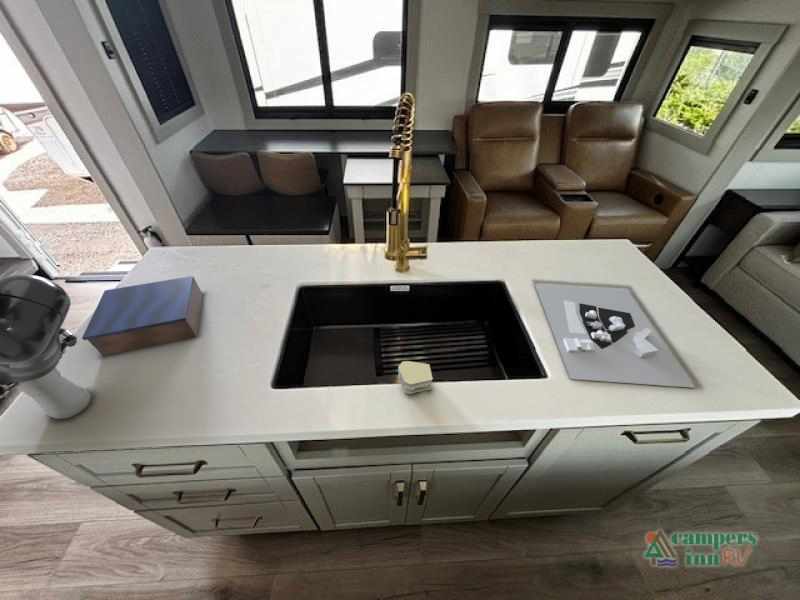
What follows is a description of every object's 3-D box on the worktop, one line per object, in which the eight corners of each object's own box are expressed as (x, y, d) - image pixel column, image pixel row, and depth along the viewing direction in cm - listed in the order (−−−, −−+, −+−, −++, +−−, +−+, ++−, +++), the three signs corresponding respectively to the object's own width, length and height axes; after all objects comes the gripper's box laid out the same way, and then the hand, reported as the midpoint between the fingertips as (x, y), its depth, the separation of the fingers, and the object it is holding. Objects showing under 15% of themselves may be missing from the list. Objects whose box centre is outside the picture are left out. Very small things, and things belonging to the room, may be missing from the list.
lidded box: (105, 358, 77) (87, 339, 72) (124, 311, 88) (109, 292, 83) (198, 339, 82) (186, 320, 77) (204, 296, 93) (194, 278, 89)
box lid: (84, 340, 72) (81, 338, 71) (106, 292, 83) (104, 290, 83) (186, 320, 77) (185, 317, 76) (194, 278, 89) (193, 275, 88)
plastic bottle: (59, 401, 68) (-22, 339, 55) (98, 389, 71) (30, 327, 57) (50, 428, 64) (-40, 368, 51) (92, 415, 66) (16, 354, 53)
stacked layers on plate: (431, 367, 77) (433, 353, 74) (439, 401, 71) (442, 387, 67) (389, 371, 76) (389, 356, 73) (393, 405, 70) (394, 392, 66)
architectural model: (534, 284, 102) (536, 278, 100) (627, 290, 101) (630, 284, 99) (569, 379, 76) (573, 374, 74) (694, 388, 75) (701, 383, 74)
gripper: (50, 304, 53) (51, 332, 63) (-65, 373, 43) (-42, 393, 54) (94, 334, 56) (87, 356, 66) (-5, 406, 46) (5, 419, 56)
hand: (29, 373), depth 60 cm, fingers open, 8 cm apart
